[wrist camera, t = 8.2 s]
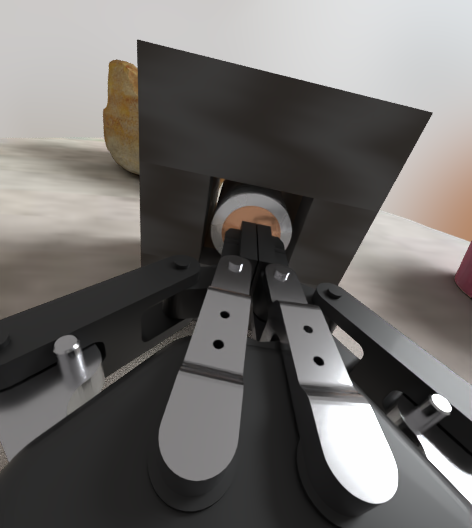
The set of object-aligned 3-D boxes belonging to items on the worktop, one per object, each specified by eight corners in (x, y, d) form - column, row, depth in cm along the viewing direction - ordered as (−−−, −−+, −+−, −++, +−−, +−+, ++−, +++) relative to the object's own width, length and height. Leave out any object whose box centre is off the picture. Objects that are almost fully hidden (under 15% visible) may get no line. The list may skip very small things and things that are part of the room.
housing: (289, 263, 27) (351, 103, 19) (307, 339, 18) (432, 112, 10) (176, 241, 26) (189, 63, 18) (141, 311, 18) (137, 39, 10)
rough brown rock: (266, 193, 47) (290, 99, 40) (228, 212, 33) (255, 72, 26) (163, 162, 53) (168, 75, 46) (94, 166, 39) (85, 43, 32)
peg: (268, 209, 24) (282, 159, 21) (278, 274, 15) (303, 204, 13) (221, 199, 23) (230, 148, 21) (205, 260, 15) (217, 186, 12)
